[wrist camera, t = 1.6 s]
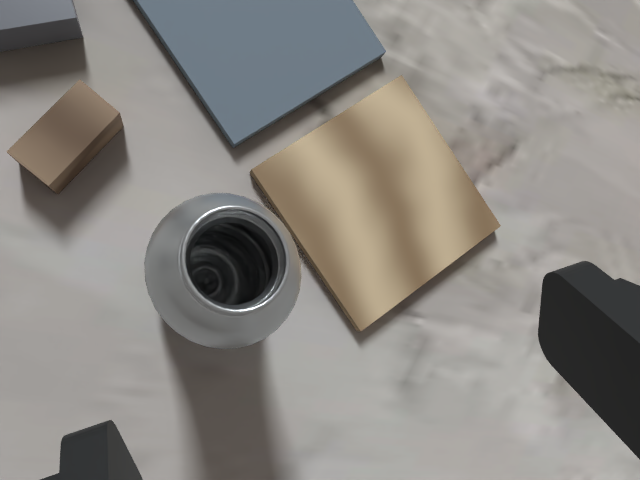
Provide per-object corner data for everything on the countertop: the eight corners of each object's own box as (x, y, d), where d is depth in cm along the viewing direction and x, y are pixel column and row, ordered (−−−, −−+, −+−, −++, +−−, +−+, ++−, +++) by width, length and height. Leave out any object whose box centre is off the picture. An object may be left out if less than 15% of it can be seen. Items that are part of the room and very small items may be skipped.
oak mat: (356, 330, 41) (360, 331, 40) (249, 172, 40) (251, 169, 39) (493, 227, 44) (500, 225, 43) (396, 80, 44) (401, 75, 43)
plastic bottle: (209, 211, 39) (242, 119, 20) (276, 288, 40) (371, 271, 21) (131, 275, 38) (85, 243, 19) (202, 355, 38) (228, 404, 19)
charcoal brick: (-16, 55, 37) (-31, 34, 35) (-28, 10, 38) (-45, -15, 35) (83, 38, 39) (76, 17, 36) (71, -5, 39) (63, -30, 36)
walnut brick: (58, 195, 38) (48, 186, 35) (19, 164, 37) (6, 151, 34) (123, 127, 39) (119, 112, 36) (87, 96, 39) (79, 79, 36)
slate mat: (232, 148, 40) (234, 144, 39) (122, -16, 40) (121, -24, 39) (381, 57, 44) (386, 51, 43) (281, -95, 43) (283, -104, 42)
